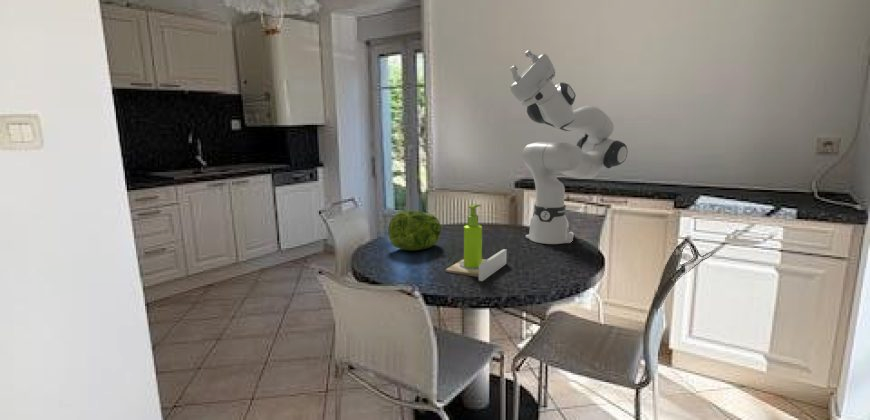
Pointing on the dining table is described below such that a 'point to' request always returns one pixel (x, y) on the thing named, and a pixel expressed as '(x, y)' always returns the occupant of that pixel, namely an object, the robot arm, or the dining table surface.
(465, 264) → the soap dispenser
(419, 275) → the dining table surface
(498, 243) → the dining table surface
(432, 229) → the lettuce
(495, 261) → the low wall
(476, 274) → the oak board
